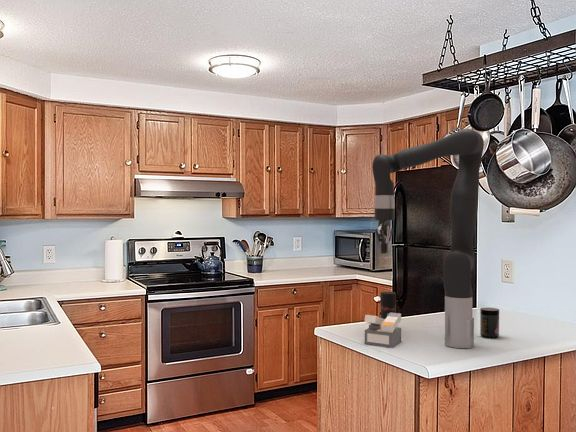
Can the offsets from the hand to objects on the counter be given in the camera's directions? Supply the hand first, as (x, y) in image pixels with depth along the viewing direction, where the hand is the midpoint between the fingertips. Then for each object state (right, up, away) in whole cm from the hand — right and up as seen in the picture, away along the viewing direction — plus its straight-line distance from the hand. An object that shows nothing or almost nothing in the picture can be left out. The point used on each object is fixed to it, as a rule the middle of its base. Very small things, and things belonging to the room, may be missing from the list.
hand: (384, 253), depth 203 cm
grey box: (-3, -31, -12) cm, 33 cm away
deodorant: (+3, -31, +7) cm, 32 cm away
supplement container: (+39, -31, -3) cm, 50 cm away
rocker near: (0, -25, -13) cm, 28 cm away
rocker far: (-5, -25, -11) cm, 27 cm away
